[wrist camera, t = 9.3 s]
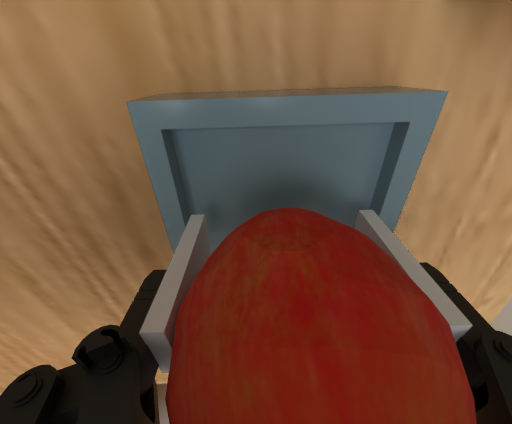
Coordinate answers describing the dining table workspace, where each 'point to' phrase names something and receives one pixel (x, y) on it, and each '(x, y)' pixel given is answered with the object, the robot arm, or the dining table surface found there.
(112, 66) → the dining table surface
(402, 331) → the apple
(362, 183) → the blue square tray
